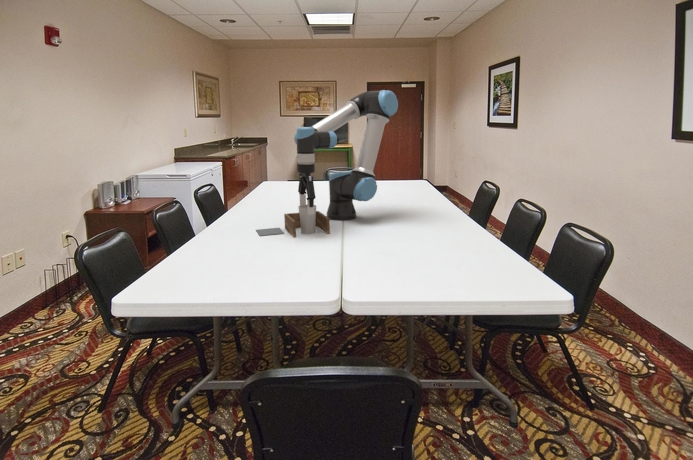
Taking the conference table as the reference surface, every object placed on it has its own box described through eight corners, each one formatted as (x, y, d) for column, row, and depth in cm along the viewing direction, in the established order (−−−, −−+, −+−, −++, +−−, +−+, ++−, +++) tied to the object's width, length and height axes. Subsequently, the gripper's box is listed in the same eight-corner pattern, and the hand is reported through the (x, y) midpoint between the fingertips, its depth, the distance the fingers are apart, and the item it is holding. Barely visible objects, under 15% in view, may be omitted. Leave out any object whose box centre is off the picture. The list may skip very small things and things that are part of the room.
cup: (314, 235, 209) (313, 208, 206) (297, 234, 210) (296, 207, 207) (319, 230, 216) (318, 204, 213) (302, 230, 218) (301, 204, 215)
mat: (279, 228, 221) (279, 227, 221) (284, 233, 211) (284, 233, 211) (255, 230, 218) (255, 229, 218) (259, 236, 208) (259, 235, 208)
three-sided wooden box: (318, 225, 226) (318, 211, 224) (329, 233, 210) (329, 218, 209) (284, 228, 221) (284, 213, 219) (293, 237, 205) (292, 221, 203)
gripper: (290, 161, 216) (292, 207, 221) (304, 166, 193) (305, 217, 198) (306, 160, 218) (307, 206, 223) (322, 165, 196) (322, 216, 200)
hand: (306, 211), depth 211 cm, fingers open, 13 cm apart
